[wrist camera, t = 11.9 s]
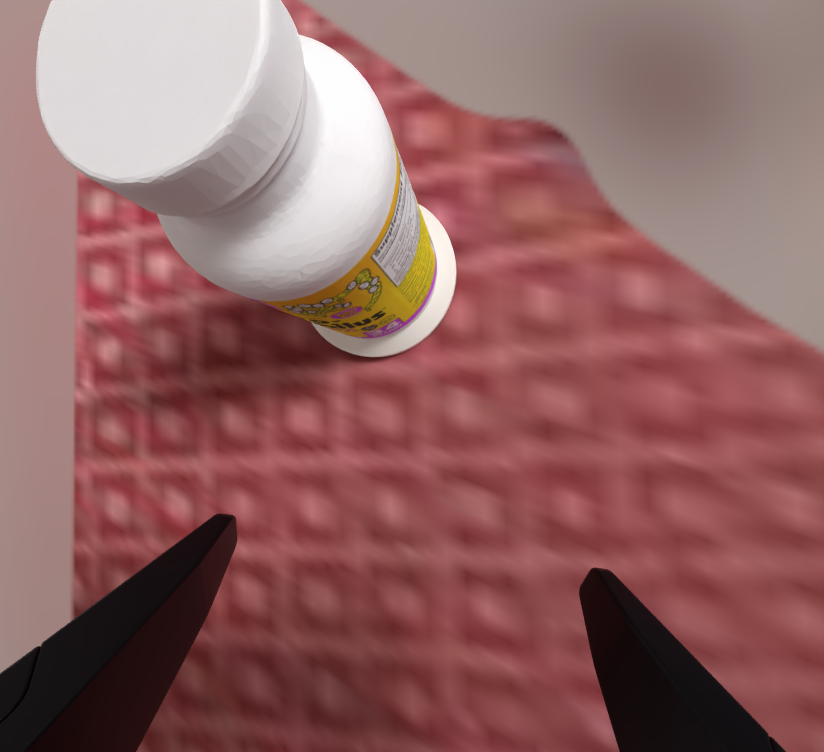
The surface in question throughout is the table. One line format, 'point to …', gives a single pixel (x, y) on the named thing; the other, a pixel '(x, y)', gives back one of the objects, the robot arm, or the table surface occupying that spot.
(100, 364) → the table surface
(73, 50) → the supplement bottle
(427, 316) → the cream round disc
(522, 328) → the table surface
